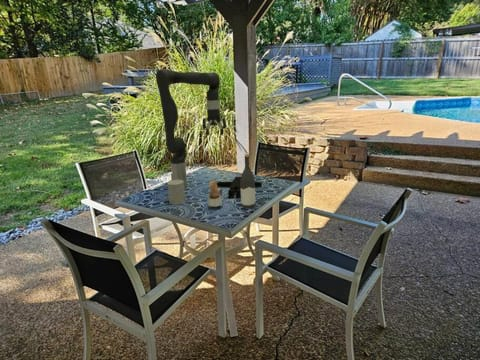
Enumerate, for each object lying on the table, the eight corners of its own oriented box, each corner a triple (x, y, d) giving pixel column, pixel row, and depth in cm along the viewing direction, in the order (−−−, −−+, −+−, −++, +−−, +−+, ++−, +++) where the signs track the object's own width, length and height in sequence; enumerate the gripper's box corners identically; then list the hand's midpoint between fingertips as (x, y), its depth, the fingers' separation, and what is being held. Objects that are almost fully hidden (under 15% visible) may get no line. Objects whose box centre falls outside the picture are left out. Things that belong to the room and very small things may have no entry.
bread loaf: (210, 203, 176) (208, 183, 172) (212, 200, 180) (210, 180, 176) (216, 203, 175) (215, 183, 171) (218, 201, 179) (217, 181, 175)
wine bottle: (253, 201, 184) (252, 151, 175) (256, 207, 176) (255, 155, 167) (240, 203, 183) (238, 152, 173) (242, 208, 175) (240, 156, 166)
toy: (209, 190, 190) (218, 175, 219) (210, 198, 192) (218, 182, 220) (260, 190, 187) (262, 175, 215) (260, 199, 189) (262, 183, 217)
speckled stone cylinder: (166, 201, 190) (164, 181, 186) (181, 197, 195) (179, 178, 191) (173, 205, 182) (171, 185, 178) (188, 201, 188) (186, 182, 184)
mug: (206, 209, 176) (205, 196, 173) (213, 200, 188) (212, 187, 185) (219, 210, 174) (218, 196, 171) (225, 201, 186) (225, 188, 184)
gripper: (199, 108, 185) (201, 136, 190) (223, 108, 182) (224, 136, 187) (204, 107, 192) (205, 134, 197) (226, 107, 189) (227, 134, 194)
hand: (215, 135), depth 192 cm, fingers open, 8 cm apart
